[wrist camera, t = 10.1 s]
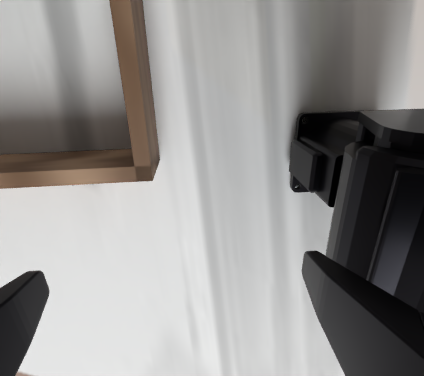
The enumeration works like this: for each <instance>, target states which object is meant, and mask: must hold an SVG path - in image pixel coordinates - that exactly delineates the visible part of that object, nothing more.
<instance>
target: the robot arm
mask: <svg viewBox="0 0 424 376" xmlns="http://www.w3.org/2000/svg"><path fill="white" fill-rule="evenodd" d="M304 117H306V118H307V120H306V122H304V123H303V122H302V119H303V118H304ZM289 172H290V173H291V183H290V188H291V189H292V190H293V191H294V192H311V193H314V192H315V193H316V194H317V195H318V196H319V197H320V198H321V199H322V200H323V201H324V202H325V203H326V204H327V205H328V206H329V207H334V211H333V216H332V222H331V227H330V233H329V238H328V244H327V249H326V256H325V255H323V254H322V253H320V252H318V251H306V252H305V254H304V258H303V265H302V275H303V279H304V281H305V284H306V287H307V290H308V293H309V296H310V298H311V301H312V304H313V307H314V310H315V312H316V315H317V317H318V320H319V322H320V324H321V326H322V328H323V330H324V332H325V334H326V336H327V339H328V341H329V343H330V345H331V347H332V349H333V351H334V353H335V355H336V357H337V359H338V361H339V363H340V366H341V368H342V370H343V372H344V374H345V376H424V109H402V110H363V111H337V112H310V113H301V114H300V115H299V116H298V118H297V125H296V135H295V139H294V140H293V142H292V145H291V155H290V165H289ZM297 184H299V186H298V187H297V188H295V186H296V185H297ZM48 296H49V287H48V285H47V282H46V279H45V276H44V274H43V272H42V271H28V272H26V273H24V274H22V275H21V276H19V277H17V278H16V279H14V280H13V281H11V282H9V283H8V284H6V285H4V286H3V287H1V288H0V376H15V375H16V373H17V371H18V369H19V367H20V365H21V363H22V361H23V359H24V357H25V355H26V353H27V351H28V348H29V346H30V344H31V342H32V339H33V337H34V334H35V332H36V329H37V326H38V324H39V321H40V318H41V316H42V313H43V310H44V307H45V305H46V302H47V299H48Z"/></svg>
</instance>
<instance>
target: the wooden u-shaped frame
mask: <svg viewBox="0 0 424 376" xmlns="http://www.w3.org/2000/svg"><path fill="white" fill-rule="evenodd" d="M109 1H110V7H111V14H112V20H113V27H114V34H115V40H116V47H117V53H118V60H119V67H120V73H121V80H122V87H123V93H124V100H125V106H126V113H127V120H128V126H129V133H130V139H131V146H132V149H115V150H92V151H70V152H47V153H25V154H3V155H0V189H3V188H22V187H41V186H60V185H80V184H99V183H118V182H137V181H153V178H154V175H155V173H156V170H157V167H158V164H159V161H160V157H159V148H158V139H157V130H156V120H155V111H154V102H153V93H152V84H151V75H150V66H149V56H148V47H147V38H146V29H145V20H144V11H143V2H142V0H109Z"/></svg>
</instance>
